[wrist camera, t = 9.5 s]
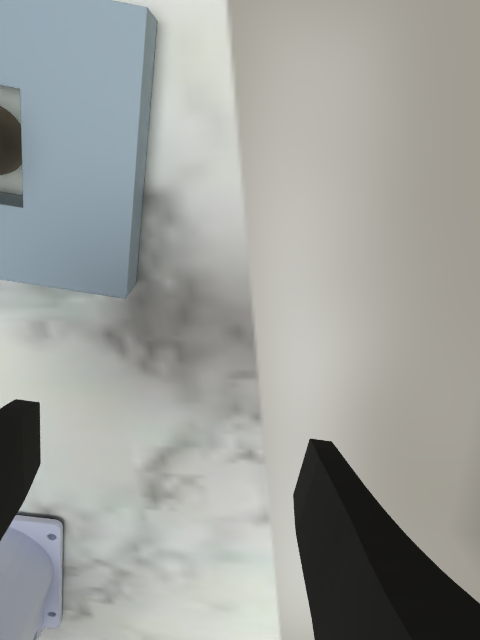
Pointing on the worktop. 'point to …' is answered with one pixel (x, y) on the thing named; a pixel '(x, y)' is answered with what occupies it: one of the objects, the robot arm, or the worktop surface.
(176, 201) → the worktop surface
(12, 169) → the walnut pin
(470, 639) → the robot arm
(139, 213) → the hole plate
